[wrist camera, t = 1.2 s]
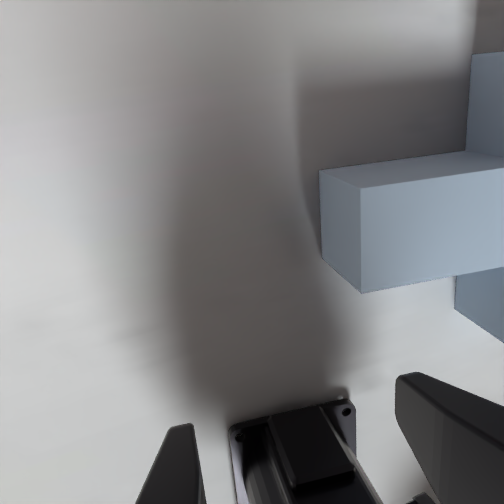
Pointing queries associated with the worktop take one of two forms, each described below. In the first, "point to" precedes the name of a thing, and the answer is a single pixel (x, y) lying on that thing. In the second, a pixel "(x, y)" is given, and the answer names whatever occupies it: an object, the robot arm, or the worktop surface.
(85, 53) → the worktop surface
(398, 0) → the worktop surface
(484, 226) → the t block
